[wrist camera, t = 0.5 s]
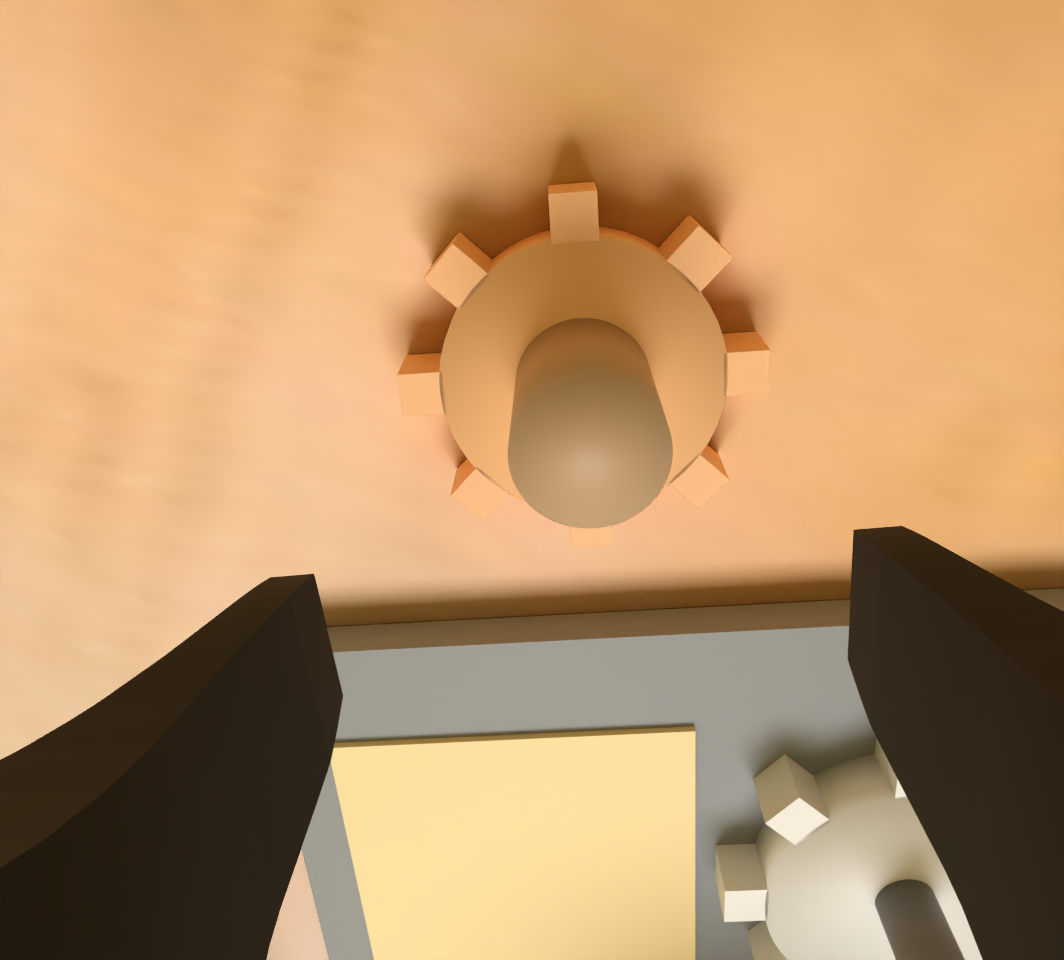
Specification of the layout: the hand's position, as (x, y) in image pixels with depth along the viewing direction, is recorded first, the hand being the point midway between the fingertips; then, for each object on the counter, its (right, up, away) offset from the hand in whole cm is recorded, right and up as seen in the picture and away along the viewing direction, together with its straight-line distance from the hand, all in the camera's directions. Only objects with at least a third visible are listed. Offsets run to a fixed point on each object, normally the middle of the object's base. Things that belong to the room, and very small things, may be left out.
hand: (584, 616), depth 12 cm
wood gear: (0, +5, +9) cm, 10 cm away
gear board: (+3, -8, +15) cm, 17 cm away
